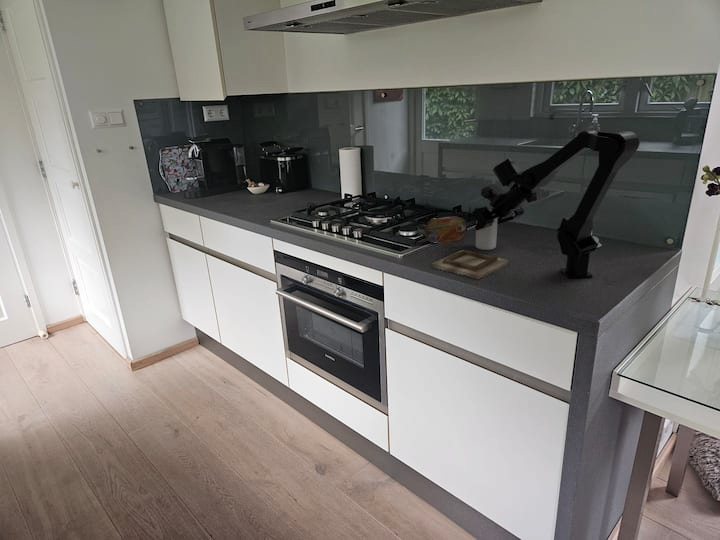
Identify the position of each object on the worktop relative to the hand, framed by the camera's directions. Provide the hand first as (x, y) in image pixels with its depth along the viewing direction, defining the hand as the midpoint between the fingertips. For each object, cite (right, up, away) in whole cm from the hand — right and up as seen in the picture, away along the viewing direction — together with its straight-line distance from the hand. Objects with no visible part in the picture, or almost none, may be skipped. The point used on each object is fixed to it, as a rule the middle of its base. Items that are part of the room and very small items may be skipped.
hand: (482, 227), depth 158 cm
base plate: (-7, -13, -14) cm, 20 cm away
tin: (-10, -4, +10) cm, 15 cm away
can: (+1, -7, +1) cm, 7 cm away
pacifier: (+34, -6, -1) cm, 35 cm away
